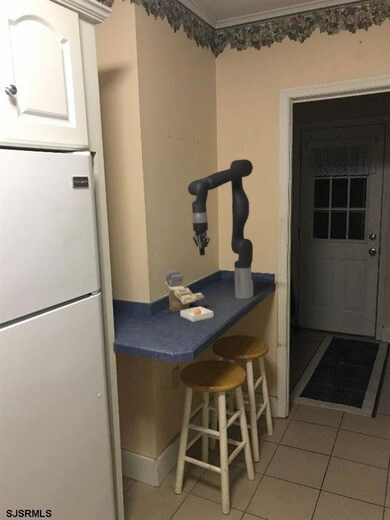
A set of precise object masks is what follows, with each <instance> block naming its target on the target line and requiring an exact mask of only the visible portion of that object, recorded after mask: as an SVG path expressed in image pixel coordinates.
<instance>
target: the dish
mask: <svg viewBox="0 0 390 520" xmlns="http://www.w3.org/2000/svg"><path fill="white" fill-rule="evenodd" d="M195 309H200V310H201V314H198V315H195V314H194V311H195ZM179 312H180V317H182V318H183V319H185V320H187V321H190V322H192V323H194V322H200V321H203V320H209V319H211V318H214V311H213V310H211V309H208V308H206V307H203V306H197V307H190V308H188V309H183V310H179Z"/></svg>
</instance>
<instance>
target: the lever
mask: <svg viewBox="0 0 390 520" xmlns="http://www.w3.org/2000/svg"><path fill="white" fill-rule="evenodd" d="M183 279H184V274H182V272H181V271H180V270H179V269H175V270H169V271H166V277H165V281H166V282H165V281H164V284H165V283H166V284H165V285H166V286H167V287H168V289H169V290H172V291H173V293H174V294H175V295H176V297H177V298H178V299H179V300H180V301H181V302H182V304H187V303H189V304H190V303H191V304H192V303H194V302H196V301H199V300H203V299H205V295H203V294H202V293H201V292H198V293H193V292H192V290H190V289H189V287H186V289H185V288H184V286H183Z"/></svg>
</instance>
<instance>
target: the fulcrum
mask: <svg viewBox="0 0 390 520" xmlns="http://www.w3.org/2000/svg"><path fill="white" fill-rule="evenodd" d="M183 287H184V286H183ZM184 288H185V289H186V288H187V287H184ZM168 290H169V291H168V292H169V293H168V300H169V301H168V302H169V310H170V311H171V312H173V313H174V312H177V311H179V312H180V311H181V310H186V309H190V308H191V307H190V303H187V304H182V302H181V301H180V300H179V299H178V298H177V297H176V295H175V294H174V293H173V291H172V290H170V289H168Z"/></svg>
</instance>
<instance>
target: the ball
mask: <svg viewBox="0 0 390 520" xmlns="http://www.w3.org/2000/svg"><path fill="white" fill-rule="evenodd" d="M194 314H195V315H198V314H201V310H200V309H195V311H194Z"/></svg>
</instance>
